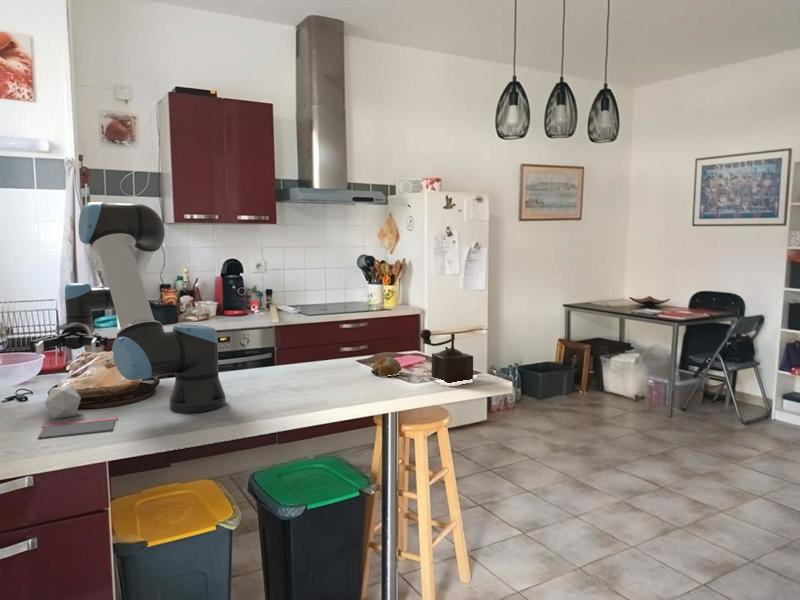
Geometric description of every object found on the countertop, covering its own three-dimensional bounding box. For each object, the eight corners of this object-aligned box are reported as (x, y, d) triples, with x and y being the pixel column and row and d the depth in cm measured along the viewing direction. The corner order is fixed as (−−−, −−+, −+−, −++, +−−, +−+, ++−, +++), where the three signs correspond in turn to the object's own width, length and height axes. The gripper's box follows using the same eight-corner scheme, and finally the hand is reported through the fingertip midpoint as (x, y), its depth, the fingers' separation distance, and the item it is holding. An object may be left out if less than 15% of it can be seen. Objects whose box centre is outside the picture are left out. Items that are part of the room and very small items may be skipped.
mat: (114, 421, 152) (114, 419, 152) (112, 430, 144) (112, 429, 144) (44, 428, 146) (44, 427, 146) (37, 439, 138) (37, 437, 138)
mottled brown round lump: (395, 388, 200) (405, 367, 199) (368, 375, 200) (378, 354, 199) (395, 381, 210) (405, 361, 209) (370, 368, 210) (379, 349, 209)
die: (82, 411, 162) (59, 384, 161) (93, 401, 157) (69, 374, 156) (56, 429, 156) (32, 402, 154) (67, 420, 150) (42, 391, 149)
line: (117, 417, 155) (117, 416, 155) (117, 419, 153) (117, 419, 153) (44, 425, 148) (44, 424, 148) (42, 427, 146) (42, 426, 146)
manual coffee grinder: (454, 376, 202) (454, 325, 200) (473, 383, 193) (475, 329, 191) (416, 382, 194) (417, 329, 192) (435, 389, 185) (436, 333, 183)
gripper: (120, 344, 188) (115, 358, 168) (30, 349, 178) (14, 364, 159) (119, 321, 187) (114, 332, 167) (28, 325, 178) (12, 337, 158)
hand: (65, 348), depth 163 cm, fingers open, 13 cm apart
